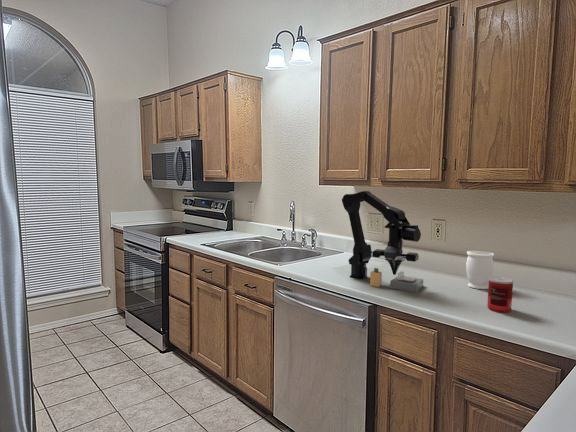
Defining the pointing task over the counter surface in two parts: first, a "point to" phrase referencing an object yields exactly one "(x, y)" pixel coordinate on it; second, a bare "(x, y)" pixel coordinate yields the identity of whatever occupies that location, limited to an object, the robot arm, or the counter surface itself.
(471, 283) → the jar
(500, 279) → the canned food
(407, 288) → the socket
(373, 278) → the plug
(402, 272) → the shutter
